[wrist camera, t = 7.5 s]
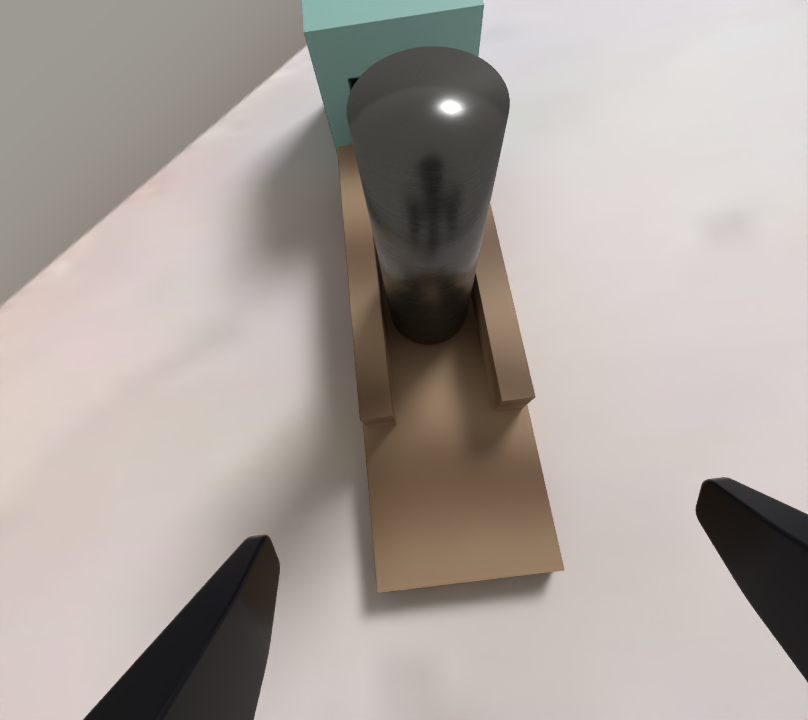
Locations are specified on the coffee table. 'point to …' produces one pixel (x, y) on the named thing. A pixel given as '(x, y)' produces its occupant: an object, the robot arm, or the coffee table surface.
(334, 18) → the socket block
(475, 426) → the guide
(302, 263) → the coffee table surface
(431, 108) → the slip rod
